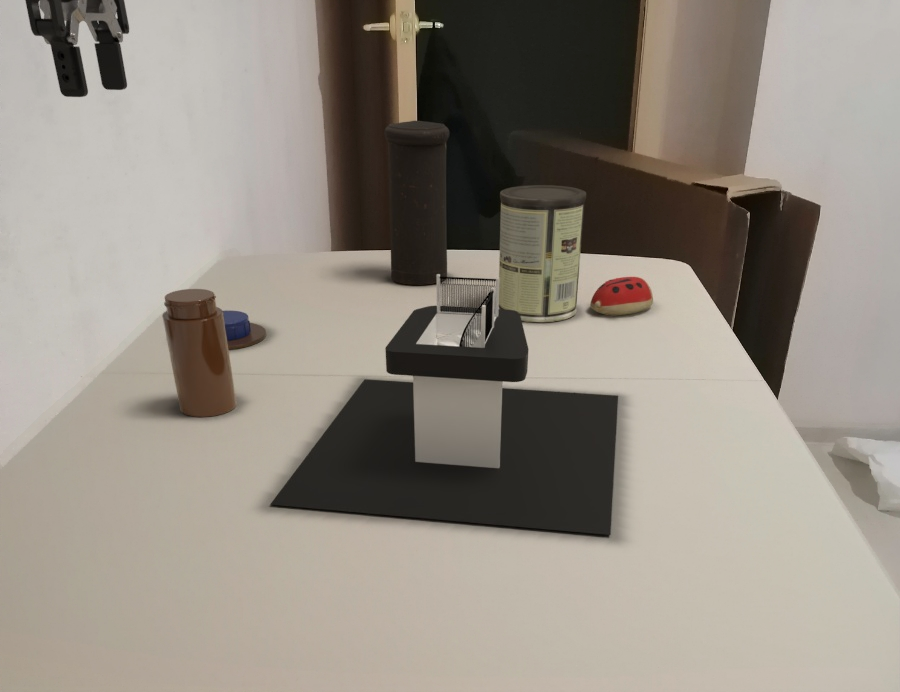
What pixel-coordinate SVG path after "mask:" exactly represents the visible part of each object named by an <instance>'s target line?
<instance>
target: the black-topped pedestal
mask: <svg viewBox="0 0 900 692" xmlns="http://www.w3.org/2000/svg"><path fill="white" fill-rule="evenodd" d="M440 278H441V282H440ZM442 279H443V281H447V282H443V281H442ZM444 279H445V280H444ZM452 280H454V283H452ZM475 281H477V284H475ZM459 282H463V283H459ZM465 282H466V283H465ZM468 282H470V284H468ZM472 283H473V284H472ZM479 283H480V284H479ZM482 283H484V284H482ZM489 283H493V285H489ZM449 285H450V305H447V296H449ZM456 286H457V299H459V306H456ZM465 286H466V306H465ZM472 286H473V295H475V307H474V298H472ZM479 287H480V289H482V301H481V290H479ZM488 287H489V291H488ZM438 335H444V336H440V337H438ZM384 350H385V351H384V352H385V367H386V369H385V370H386V371H385V372H386V373H388V374H390V375H394V376H408V377H409V376H410V377H411V376H412V381H397V380H383V379H367V378H364V379H363V381H362V382H361V383H360V384H359V386H358V387H357V389H356V390H355V391H354V393H353V394H352V395H351V397H350V398H349V399H348V401H347V402H346V403H345V405H344V406H343V407H342V408H341V409H340V411H339V413H338V414H337V415H336V416H335V417H334V419H333V420H332V421H331V423H330V424H329V426H328V427H327V428H326V429H325V431H324V432H323V434H322V435H321V436H320V438H319V439H318V440H317V441H316V443H315V444H314V445H313V447H312V448H311V450H310V451H309V452H308V454H307V455H306V456H305V457H304V459H303V460H302V461H301V463H300V464H299V465H298V467H297V468H296V470H294V472H293V473H292V475H291V476H290V477H289V479H288V480H287V481H286V483H285V484H284V485H283V486H282V488H281V489H280V490H279V492H278V493H277V495H276V496H275V497H274V499H273V500H272V501H271V502H270V505H272V506H283V507H293V508H304V509H314V510H315V509H317V510H326V511H337V512H350V513H361V514H373V515H384V516H394V517H403V518H406V517H407V518H415V519H416V518H417V519H428V520H437V521H438V520H439V521H450V522H461V523H471V524H472V523H473V524H484V525H495V526H507V527H518V528H527V529H539V530H540V529H541V530H550V531H561V532H573V533H584V534H596V535H608V536H611V532H612V514H613V496H614V478H615V459H616V443H617V441H616V440H617V424H618V407H619V406H618V404H619V395H614V394H599V393H585V392H568V391H555V390H536V389H523V388H507V387H503V384H504V383H519V382H523V381H525V380H526V378H527V375H528V368H529V365H528V364H529V345H528V341H527V337H526V333H525V329H524V325H523V321H522V320H521V316H520V314H519V313H518V312H517V311H514V310H505V309H499V277H496V278H481V277H480V278H479V277H459V276H447V277H440V274H437V283H436V305H427V306H423V307H420V308H416V309H414V310H413V311H412V312H411V313H410V314H409V316H408V317H407V319H406V320H405V321H404V322H403V324H402V326H400V328H399V329H398V330H397V332H396V333H395V334H394V335H393V337H392V338H391V339H390V341H389V342H388V343H387V345H386V346H385V349H384ZM503 382H504V383H503Z"/></svg>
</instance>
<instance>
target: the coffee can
mask: <svg viewBox="0 0 900 692" xmlns="http://www.w3.org/2000/svg"><path fill="white" fill-rule="evenodd" d="M499 198H500V220H499V221H500V223H499V224H500V226H499V262H498V263H499V265H498V266H499V268H498V278H499V309H505V310H514V311H517V312H518V313H519V314H520V316H521V320H522V322H527V323H554V322H559V321H565V320H567V319H570V318H572V317H574V316H576V314H577V312H578V311H577V305H578V304H577V303H578V293H579V291H578V290H579V277H580V264H581V263H580V262H581V251H582V250H581V249H582V240H583V226H584V214H585V213H584V212H585V201H586V199H587V192H586V191H585V190H583V189H580V188H577V187H573V186H565V185H552V184H533V185H532V184H531V185H518V186H512V187H507V188H505V189H504V188H503V189H502V190H501V191H500V192H499Z"/></svg>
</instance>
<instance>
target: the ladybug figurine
mask: <svg viewBox="0 0 900 692" xmlns="http://www.w3.org/2000/svg"><path fill="white" fill-rule="evenodd" d="M653 302H654V296H653V291H652V288H651V286H650V285H649V284H648V282H647V281H646V280H645V279H643V278H642V277H639V276H624V277H623V276H622V277H616V278H612V279H609V280H607V281H604V283H603V284H601V285H600V286H599V287H598V288H597V289H596V291H594V293H593V295H592V297H591V300H590V308H591V309H592V310H593V311H594V312H596V313H598V314H601V315H604V316H625V315H631V314H637V313H639V312H642V311H646V310H647V309H649V308H650V307H651V306H652V305H653Z"/></svg>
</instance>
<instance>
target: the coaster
mask: <svg viewBox="0 0 900 692" xmlns="http://www.w3.org/2000/svg"><path fill="white" fill-rule="evenodd" d="M250 329H251V332H250V334H249V335H247V336H245V337H243V338H240V339H236V340H230V341H227V343H228V349H229V351H232V350H237V349H238V350H239V349H243V348H248V347H250V346H253V345H256V344H259V343H260V342H262V341H264V339H266V337H267V330H266V328H265V327H264V326H262V325H260V324H257V323H253V322H250Z"/></svg>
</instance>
